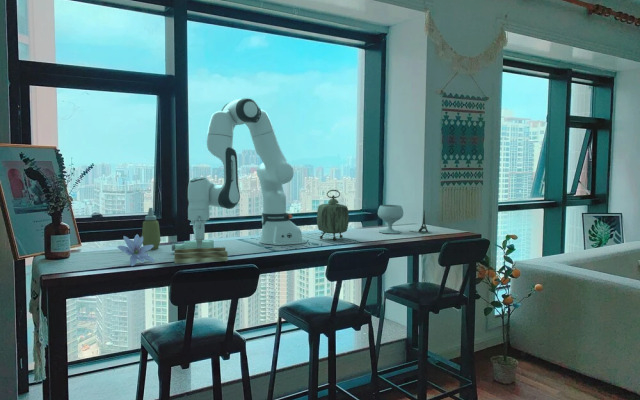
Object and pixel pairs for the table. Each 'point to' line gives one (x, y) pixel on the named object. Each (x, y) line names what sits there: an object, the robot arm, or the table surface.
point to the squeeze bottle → (151, 230)
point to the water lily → (136, 250)
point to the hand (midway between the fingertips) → (199, 247)
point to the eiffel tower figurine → (423, 227)
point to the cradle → (200, 255)
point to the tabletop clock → (332, 217)
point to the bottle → (193, 245)
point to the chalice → (390, 216)
